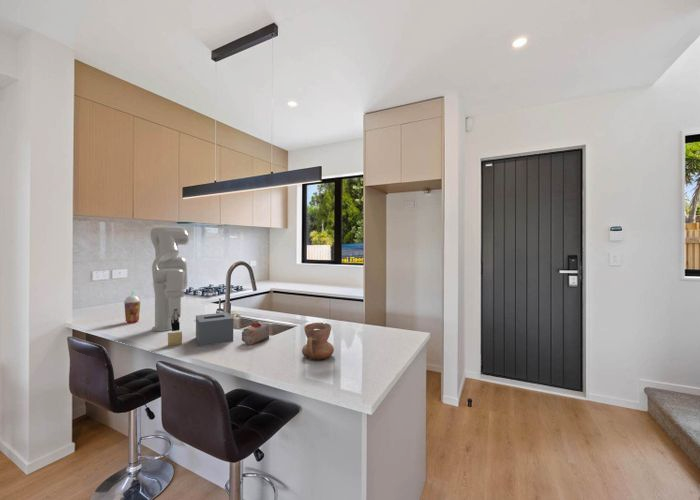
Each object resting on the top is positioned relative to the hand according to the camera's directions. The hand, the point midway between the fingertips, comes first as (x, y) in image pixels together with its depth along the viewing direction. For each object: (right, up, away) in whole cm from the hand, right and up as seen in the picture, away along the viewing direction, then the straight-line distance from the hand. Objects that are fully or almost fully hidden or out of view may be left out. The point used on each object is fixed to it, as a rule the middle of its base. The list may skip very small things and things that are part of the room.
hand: (175, 328), depth 149 cm
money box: (+15, -8, +10) cm, 20 cm away
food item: (+38, -9, +8) cm, 40 cm away
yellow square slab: (-1, -8, +1) cm, 8 cm away
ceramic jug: (+72, -10, -13) cm, 74 cm away
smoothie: (-51, -7, +41) cm, 66 cm away
